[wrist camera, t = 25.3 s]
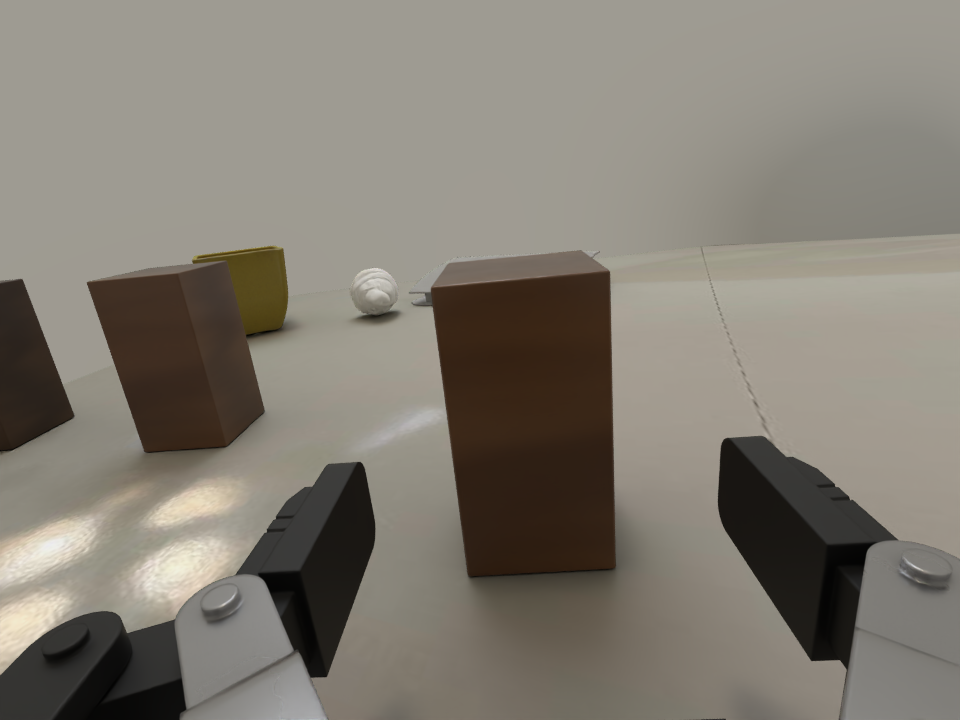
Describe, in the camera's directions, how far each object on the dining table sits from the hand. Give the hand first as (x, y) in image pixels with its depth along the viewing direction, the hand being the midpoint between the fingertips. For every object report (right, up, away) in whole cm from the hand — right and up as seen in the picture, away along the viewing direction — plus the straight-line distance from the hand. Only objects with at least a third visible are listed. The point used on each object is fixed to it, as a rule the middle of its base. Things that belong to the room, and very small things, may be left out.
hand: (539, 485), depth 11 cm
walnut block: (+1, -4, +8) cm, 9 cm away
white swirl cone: (-13, +8, +47) cm, 49 cm away
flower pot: (-27, +6, +47) cm, 55 cm away
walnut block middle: (-18, -2, +20) cm, 27 cm away
